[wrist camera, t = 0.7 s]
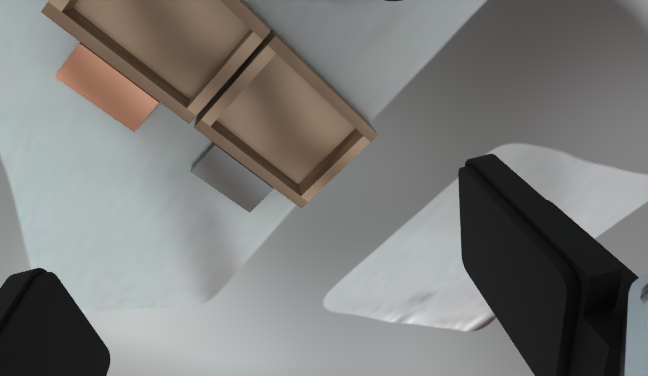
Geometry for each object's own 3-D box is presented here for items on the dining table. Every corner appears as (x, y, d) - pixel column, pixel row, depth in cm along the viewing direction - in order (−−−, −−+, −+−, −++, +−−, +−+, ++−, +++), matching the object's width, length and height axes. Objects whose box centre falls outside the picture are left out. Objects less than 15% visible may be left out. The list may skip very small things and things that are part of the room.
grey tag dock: (273, 29, 31) (275, 35, 29) (369, 122, 36) (377, 134, 33) (167, 148, 34) (162, 163, 32) (269, 220, 39) (271, 237, 36)
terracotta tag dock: (135, -105, 26) (125, -109, 24) (268, 25, 31) (270, 31, 28) (26, 49, 29) (8, 58, 27) (163, 145, 34) (157, 159, 31)
